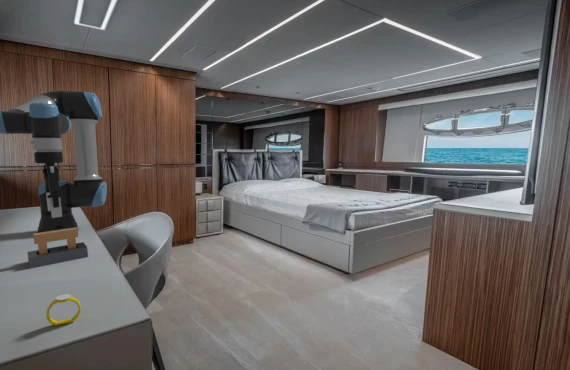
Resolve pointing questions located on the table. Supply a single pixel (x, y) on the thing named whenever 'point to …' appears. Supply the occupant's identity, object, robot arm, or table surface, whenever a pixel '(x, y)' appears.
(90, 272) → the table surface
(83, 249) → the slotted gray block
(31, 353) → the table surface
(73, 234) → the notched wooden block
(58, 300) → the watch
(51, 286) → the table surface
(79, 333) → the table surface
